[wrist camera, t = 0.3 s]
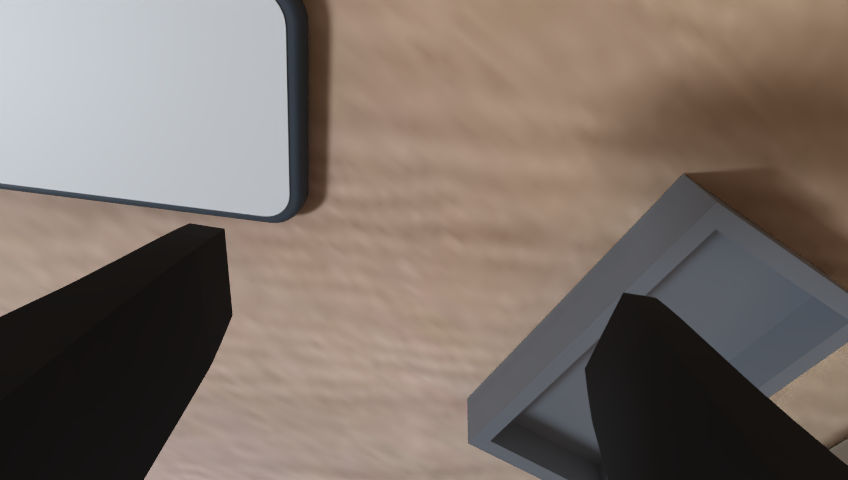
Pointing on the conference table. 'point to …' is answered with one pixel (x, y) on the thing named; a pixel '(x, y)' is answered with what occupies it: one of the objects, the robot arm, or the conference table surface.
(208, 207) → the smartphone
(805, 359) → the shell tray
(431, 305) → the conference table surface
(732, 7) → the conference table surface
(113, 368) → the robot arm
